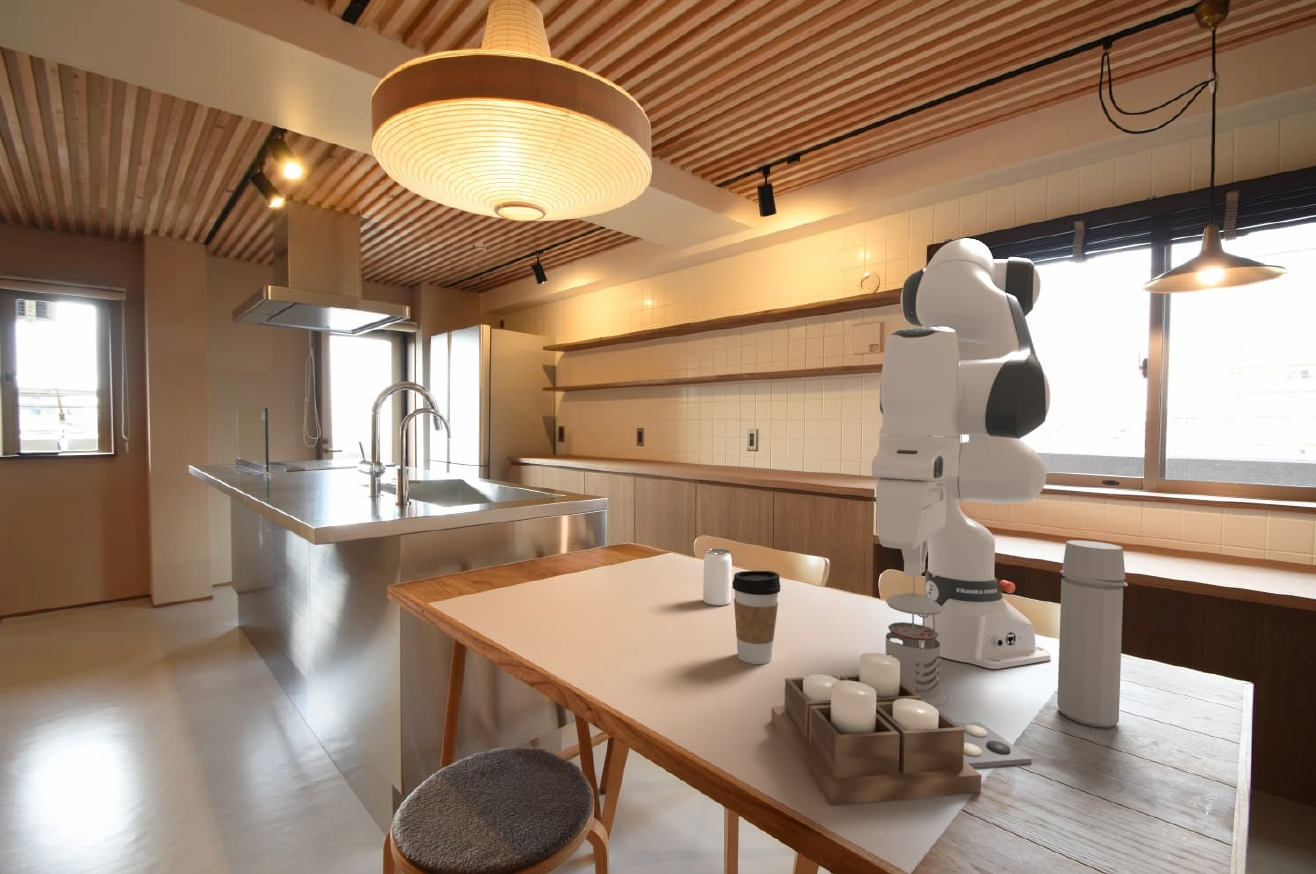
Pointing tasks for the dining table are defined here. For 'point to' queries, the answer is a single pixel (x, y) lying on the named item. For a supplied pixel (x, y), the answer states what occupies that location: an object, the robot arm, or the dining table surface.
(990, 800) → the dining table surface
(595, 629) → the dining table surface
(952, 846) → the dining table surface
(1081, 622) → the water bottle
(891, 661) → the button
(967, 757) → the pattern card
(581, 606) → the dining table surface
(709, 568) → the can
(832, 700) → the button
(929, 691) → the french press
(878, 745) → the button board
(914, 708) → the button
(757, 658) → the coffee cup
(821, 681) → the button
